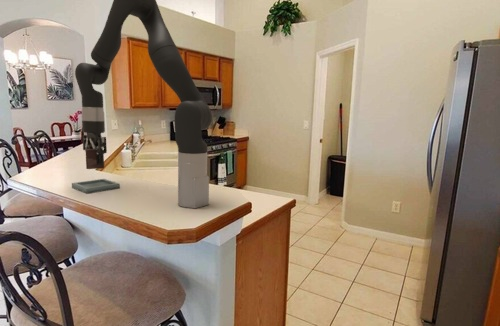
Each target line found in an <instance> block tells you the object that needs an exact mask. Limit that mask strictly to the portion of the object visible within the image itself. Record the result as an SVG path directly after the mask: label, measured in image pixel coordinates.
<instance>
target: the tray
mask: <svg viewBox="0 0 500 326" xmlns="http://www.w3.org/2000/svg"><path fill="white" fill-rule="evenodd" d="M120 185H121V184H120V183H119V182H116V181H113V180H109V179H106V178H100V179H99V178H98V179H92V180H86V181H76V182H71V188H72V189H74V190H76V191H79V192H82V193H84V194H93V193H99V192H104V191H105V192H106V191H110V190H116V189H117V190H118V189H121V188H120V187H121V186H120Z"/></svg>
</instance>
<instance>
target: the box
mask: <svg viewBox="0 0 500 326" xmlns="http://www.w3.org/2000/svg"><path fill="white" fill-rule="evenodd" d="M96 155H97V154H96V151H95V150H94V149H93V148H86V152H85V165H86V169H87V170H95V169H96V170H98V169H99V170H100V169H105V163H104V164H103V165H97V157H96ZM104 155H105V153H104V154H103V161H104V162H105V158H104V157H105V156H104Z"/></svg>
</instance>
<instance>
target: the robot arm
mask: <svg viewBox="0 0 500 326" xmlns="http://www.w3.org/2000/svg"><path fill="white" fill-rule="evenodd" d="M130 16H133V17H135V18H138V19H139V20H140V21H141V23H142V25H143V27H144V29H145V31H146V33H147V38H148V39H147V40H148V41H147V53H148V56H149V58H150V61H151V63H152V65H153V67H154V69H155V70H156V72H157V74H158V75H159V77H161V78H160V79H162V80H163V82H165V83H166V84H167V86H169V87H170V89H172V91H173V92H174V93H175V95H176V96H177V97H178V99H179V102H180V103H179V104H178V105H177V106H176V109H175V112H174V135H175V137H174V138H175V143H176V145H177V151H178V152H177V156H178V157H177V158H178V159H177V197H178V198H177V202H178V203H177V204H178V206H179V207H182V208H190V209H191V208H192V209H197V208H201V207H205V206H208V205H209V204H210V203H209V200H210V199H209V198H210V197H209V196H210V194H209V193H210V176H208V144H207V142H205V141H204V140H203V137H202V131H203V130H206V129H207V128H209V127H210V126H211V123H212V120H213V115H212V110H211V108H210V106H209V105H208V103H207V102H206V100H205V98H204V96H203V95H202V94H201V93H200V91H199V89H198V88H197V86H196V84H195V82H194V80H193V78H192V76H191V73H190V71H189V69H188V67H187V66H186V64H185V61H184V59H183V57H182V55H181V53H180V50H179V49H178V47H177V45H176V43H175V41H174V39H173V37H172V36H171V33H170V32H169V29H168V27H167V25H166V23H165V22H164V19H163V16H162V13H161V11H160V7H159V5H158V3H157V0H113V1H112V3H111V7H110V9H109V13H108V15H107V19H106V22H105V24H104V27H103V30H102V31H101V34H100V36H99V38H98V40H97V42H96V43H95V44H94V46H93V48H92V50H91V53H90V57H91V59H92V61H93V62H95V63H96V64H92V63H88V62H80V63H77V65H76V68H75V71H74V76H75V79H76V82H77V85H78V88H79V89H78V90H79V92H80V95H81V107H82V108H81V125H82V126H81V127H82V128H81V129H82V133H84V134H82V150H83V151H84V152H85V153H86V148H93V149H94V150H95V151H96V154H97V155H96V157H97V165H103V164H104V165H105V160H104V161H103V154H104V155H105V154H107V153H108V152H107V151H108V150H107V137H106V136H102V134H104V133H106V124H105V120H106V119H105V111H104V96H103V93H102V92H101V91H98V90H95V88H94V86H93V85H96V86H98V85H99V86H101V85H103V84H104V83H106V82H107V80H108V79H109V75H110V74H109V73H110V70H111V66H112V63H113V61H114V60H115V57H116V56H117V55H118V53H119V51H120V48H121V47H122V46H121V45H122V30H123V29H122V28H123V25H124V23H125V21H126V20H127V18H128V17H130Z"/></svg>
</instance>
